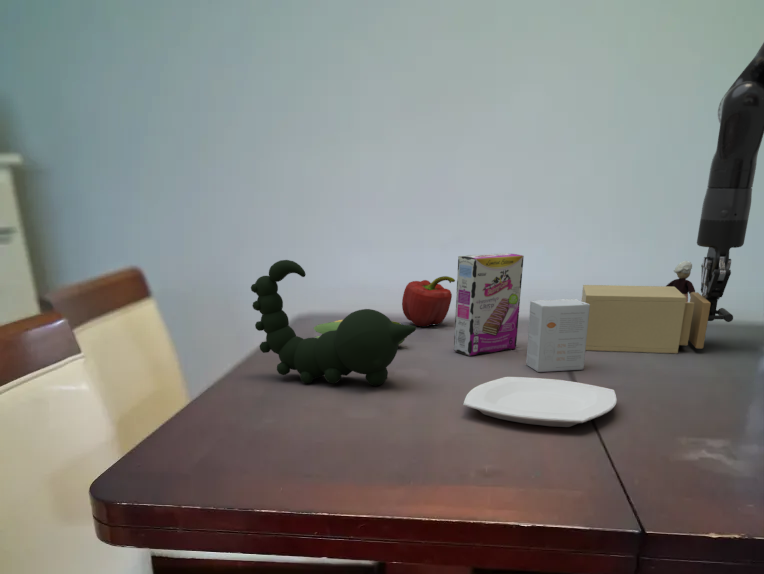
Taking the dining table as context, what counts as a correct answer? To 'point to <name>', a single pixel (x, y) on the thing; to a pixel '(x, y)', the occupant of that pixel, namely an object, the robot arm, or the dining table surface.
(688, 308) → the drawer
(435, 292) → the vegetable
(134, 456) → the dining table surface
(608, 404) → the plate
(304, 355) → the toy figurine
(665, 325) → the cabinet
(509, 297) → the candy bar box
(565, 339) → the small box
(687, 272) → the grandmother figurine
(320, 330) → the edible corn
